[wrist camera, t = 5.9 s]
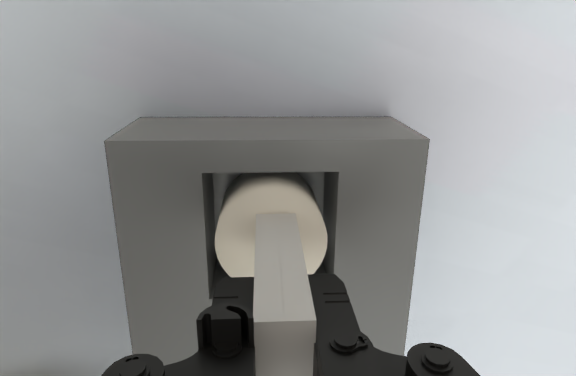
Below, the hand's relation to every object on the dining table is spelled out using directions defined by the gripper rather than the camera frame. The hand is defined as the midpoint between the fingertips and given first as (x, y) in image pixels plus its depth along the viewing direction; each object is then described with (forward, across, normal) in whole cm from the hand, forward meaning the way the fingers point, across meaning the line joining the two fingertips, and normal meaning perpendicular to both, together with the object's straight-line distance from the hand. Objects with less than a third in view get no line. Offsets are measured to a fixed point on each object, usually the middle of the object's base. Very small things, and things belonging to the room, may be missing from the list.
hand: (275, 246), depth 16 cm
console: (+6, 0, -8) cm, 9 cm away
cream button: (+4, 0, 0) cm, 4 cm away
